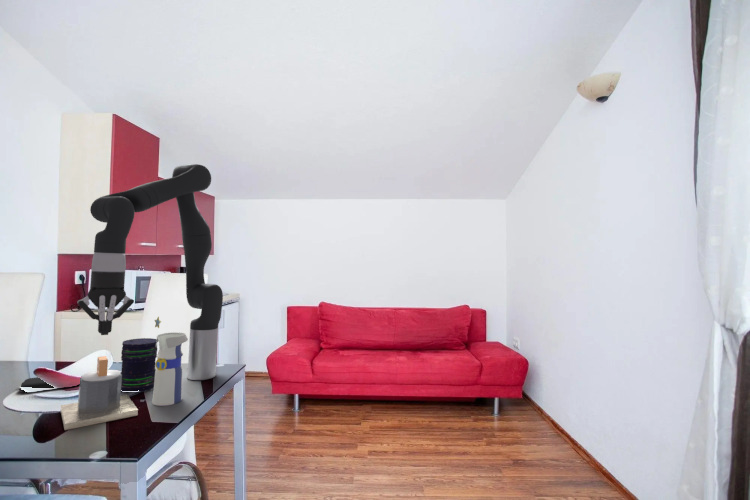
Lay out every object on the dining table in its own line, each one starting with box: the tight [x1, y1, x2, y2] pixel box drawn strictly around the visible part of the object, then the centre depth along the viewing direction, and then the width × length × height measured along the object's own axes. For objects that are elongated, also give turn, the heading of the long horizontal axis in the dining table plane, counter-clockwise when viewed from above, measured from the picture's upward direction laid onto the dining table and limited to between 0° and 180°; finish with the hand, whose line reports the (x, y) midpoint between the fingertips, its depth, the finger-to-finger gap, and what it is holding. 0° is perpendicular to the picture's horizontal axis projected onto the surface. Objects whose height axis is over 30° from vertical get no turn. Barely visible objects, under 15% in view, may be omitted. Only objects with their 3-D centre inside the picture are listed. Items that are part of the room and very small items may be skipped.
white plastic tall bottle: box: [151, 316, 189, 406], centre depth 112 cm, size 8×9×25 cm
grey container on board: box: [60, 374, 139, 431], centre depth 101 cm, size 15×15×10 cm
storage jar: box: [120, 337, 158, 393], centre depth 122 cm, size 10×10×15 cm
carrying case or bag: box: [19, 376, 54, 394], centre depth 121 cm, size 11×3×15 cm
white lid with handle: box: [81, 355, 121, 382], centre depth 101 cm, size 8×8×8 cm
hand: (104, 334), depth 102 cm, fingers closed
